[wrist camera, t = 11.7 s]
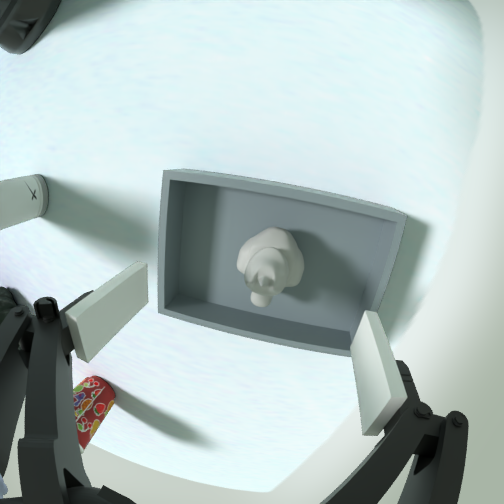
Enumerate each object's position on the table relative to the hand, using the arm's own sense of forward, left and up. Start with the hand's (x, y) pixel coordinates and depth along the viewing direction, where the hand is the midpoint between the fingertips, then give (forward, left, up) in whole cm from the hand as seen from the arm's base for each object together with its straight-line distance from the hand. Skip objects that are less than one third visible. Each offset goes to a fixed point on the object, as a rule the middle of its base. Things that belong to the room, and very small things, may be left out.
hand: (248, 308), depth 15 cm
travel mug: (-2, -34, -11) cm, 35 cm away
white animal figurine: (0, 0, -10) cm, 10 cm away
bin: (0, 0, -11) cm, 11 cm away
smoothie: (+31, -25, -11) cm, 41 cm away
